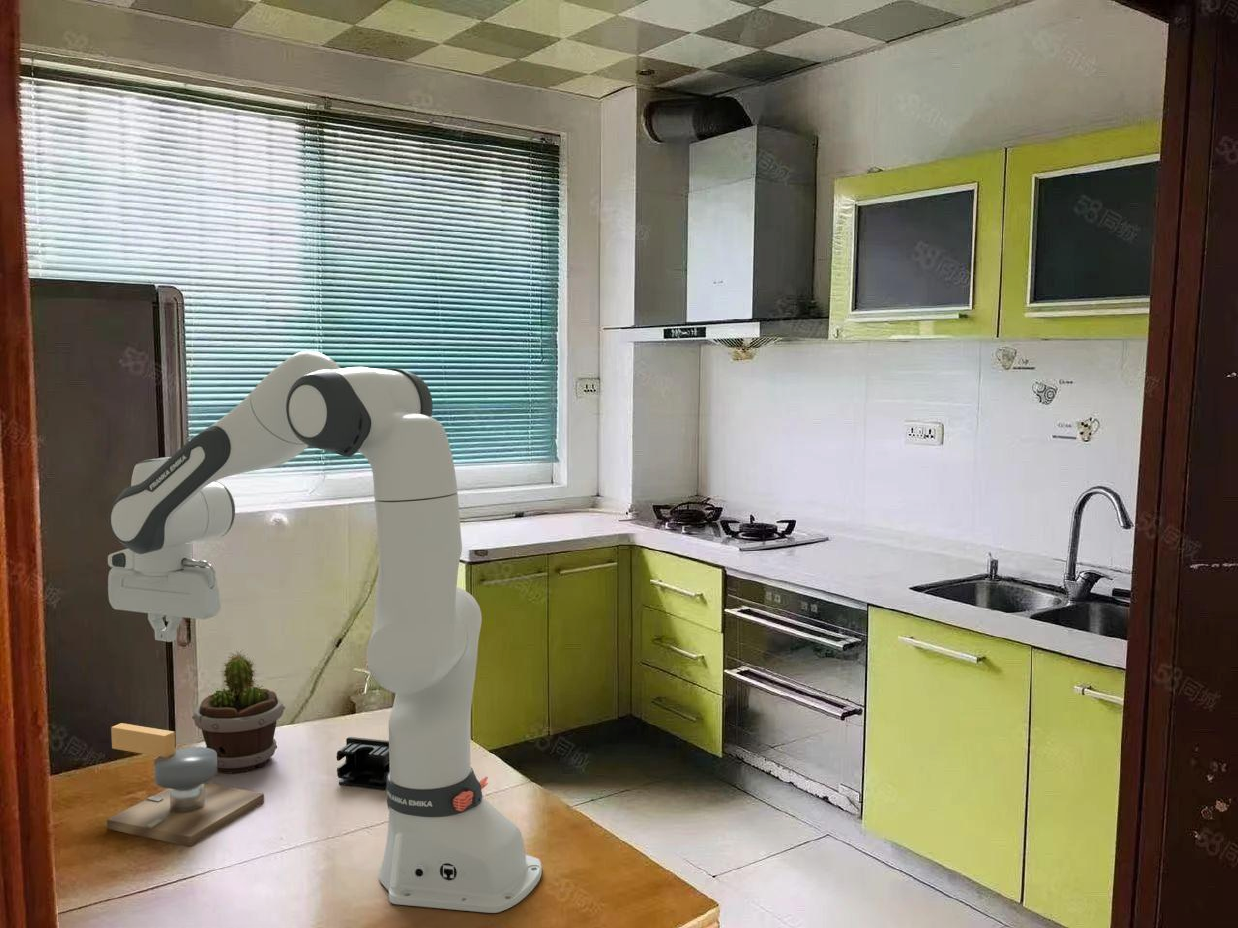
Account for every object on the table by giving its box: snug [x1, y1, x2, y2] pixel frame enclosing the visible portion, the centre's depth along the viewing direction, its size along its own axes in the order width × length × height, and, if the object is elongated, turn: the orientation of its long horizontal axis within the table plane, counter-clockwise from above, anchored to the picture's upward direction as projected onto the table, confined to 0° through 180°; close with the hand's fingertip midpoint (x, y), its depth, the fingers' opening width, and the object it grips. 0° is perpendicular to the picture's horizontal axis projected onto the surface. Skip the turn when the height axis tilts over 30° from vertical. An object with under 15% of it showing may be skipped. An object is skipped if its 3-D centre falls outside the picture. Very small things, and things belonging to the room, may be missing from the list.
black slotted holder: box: [336, 736, 390, 791], centre depth 170 cm, size 10×7×7 cm
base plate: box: [106, 782, 265, 847], centre depth 157 cm, size 16×16×2 cm
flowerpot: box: [191, 649, 286, 774], centre depth 177 cm, size 14×15×20 cm
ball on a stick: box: [110, 722, 218, 789], centre depth 158 cm, size 18×9×6 cm, turn 70°
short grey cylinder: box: [169, 783, 205, 813], centre depth 156 cm, size 5×5×4 cm
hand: (165, 640), depth 163 cm, fingers closed
